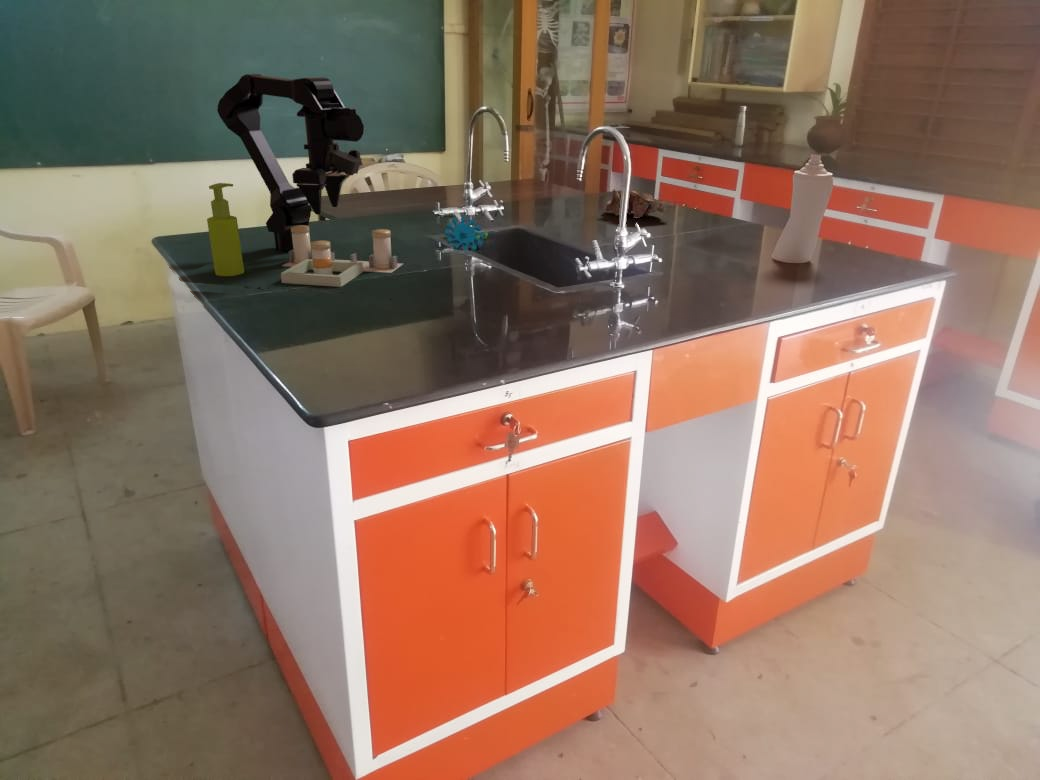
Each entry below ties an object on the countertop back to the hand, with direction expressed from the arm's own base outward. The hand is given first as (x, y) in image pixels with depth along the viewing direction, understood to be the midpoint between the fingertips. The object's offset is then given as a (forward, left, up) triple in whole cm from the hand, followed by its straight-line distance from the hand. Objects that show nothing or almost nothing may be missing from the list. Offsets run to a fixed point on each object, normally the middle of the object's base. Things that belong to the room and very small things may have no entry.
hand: (326, 210), depth 175 cm
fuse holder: (+6, -7, -12) cm, 15 cm away
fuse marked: (+6, -17, -11) cm, 22 cm away
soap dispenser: (-15, -18, -12) cm, 26 cm away
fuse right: (+15, -7, -10) cm, 20 cm away
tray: (+6, -17, -12) cm, 22 cm away
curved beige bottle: (+108, +27, -12) cm, 112 cm away
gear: (+27, +20, -12) cm, 36 cm away
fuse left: (-4, -7, -10) cm, 13 cm away
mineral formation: (+68, +71, -12) cm, 99 cm away
